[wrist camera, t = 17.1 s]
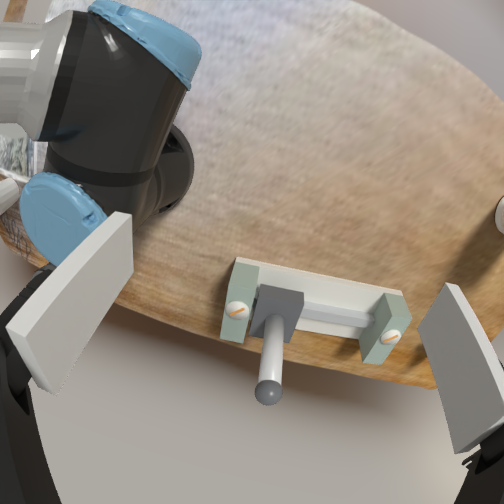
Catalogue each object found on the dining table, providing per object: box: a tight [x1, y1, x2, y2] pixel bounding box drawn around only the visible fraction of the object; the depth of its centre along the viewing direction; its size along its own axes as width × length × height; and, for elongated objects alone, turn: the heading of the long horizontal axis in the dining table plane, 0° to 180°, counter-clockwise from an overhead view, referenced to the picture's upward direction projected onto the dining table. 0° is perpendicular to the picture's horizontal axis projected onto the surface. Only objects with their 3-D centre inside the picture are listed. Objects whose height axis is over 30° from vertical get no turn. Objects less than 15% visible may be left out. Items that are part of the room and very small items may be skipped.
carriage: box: [248, 284, 304, 405], centre depth 43 cm, size 7×9×18 cm
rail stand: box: [220, 257, 412, 365], centre depth 50 cm, size 30×12×8 cm, turn 80°
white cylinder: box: [0, 178, 19, 215], centre depth 45 cm, size 7×7×7 cm
